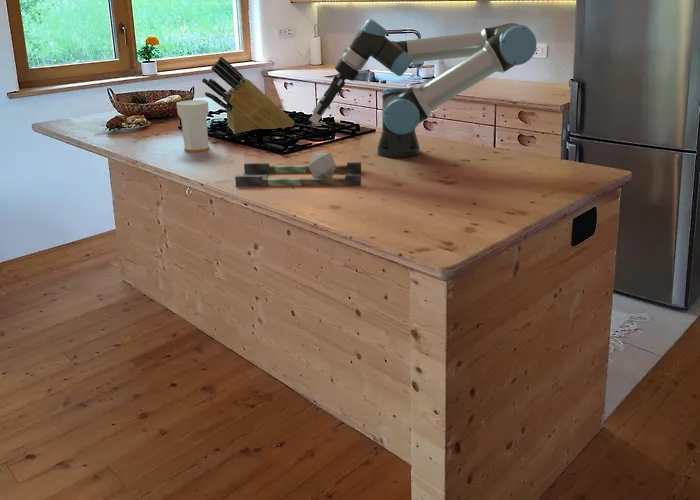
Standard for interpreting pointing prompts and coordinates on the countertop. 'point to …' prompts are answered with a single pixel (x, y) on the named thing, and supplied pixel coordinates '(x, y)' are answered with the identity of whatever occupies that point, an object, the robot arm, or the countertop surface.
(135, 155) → the countertop surface
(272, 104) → the knife block
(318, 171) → the die
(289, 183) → the trap channel
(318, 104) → the robot arm
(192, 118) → the cup
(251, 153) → the countertop surface
